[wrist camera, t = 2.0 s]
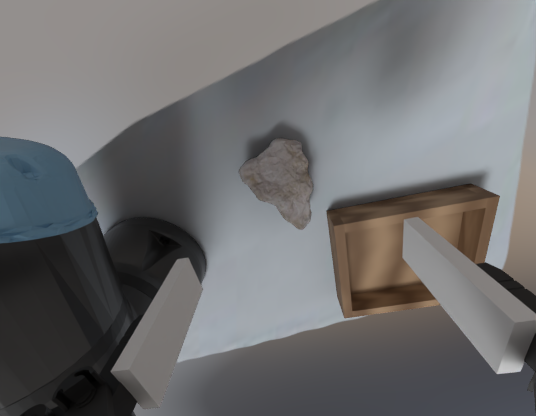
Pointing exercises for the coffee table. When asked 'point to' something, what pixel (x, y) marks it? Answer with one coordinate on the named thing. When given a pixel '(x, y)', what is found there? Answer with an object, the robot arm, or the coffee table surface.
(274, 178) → the stone
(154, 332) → the robot arm
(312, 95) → the coffee table surface
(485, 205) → the tray
